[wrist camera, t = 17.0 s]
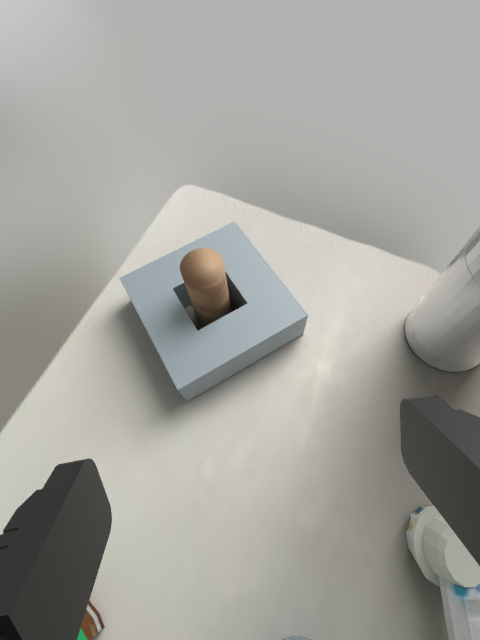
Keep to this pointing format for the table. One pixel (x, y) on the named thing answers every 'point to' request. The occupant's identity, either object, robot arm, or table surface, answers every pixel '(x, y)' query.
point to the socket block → (225, 333)
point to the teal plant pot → (296, 638)
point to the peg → (206, 284)
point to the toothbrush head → (447, 571)
